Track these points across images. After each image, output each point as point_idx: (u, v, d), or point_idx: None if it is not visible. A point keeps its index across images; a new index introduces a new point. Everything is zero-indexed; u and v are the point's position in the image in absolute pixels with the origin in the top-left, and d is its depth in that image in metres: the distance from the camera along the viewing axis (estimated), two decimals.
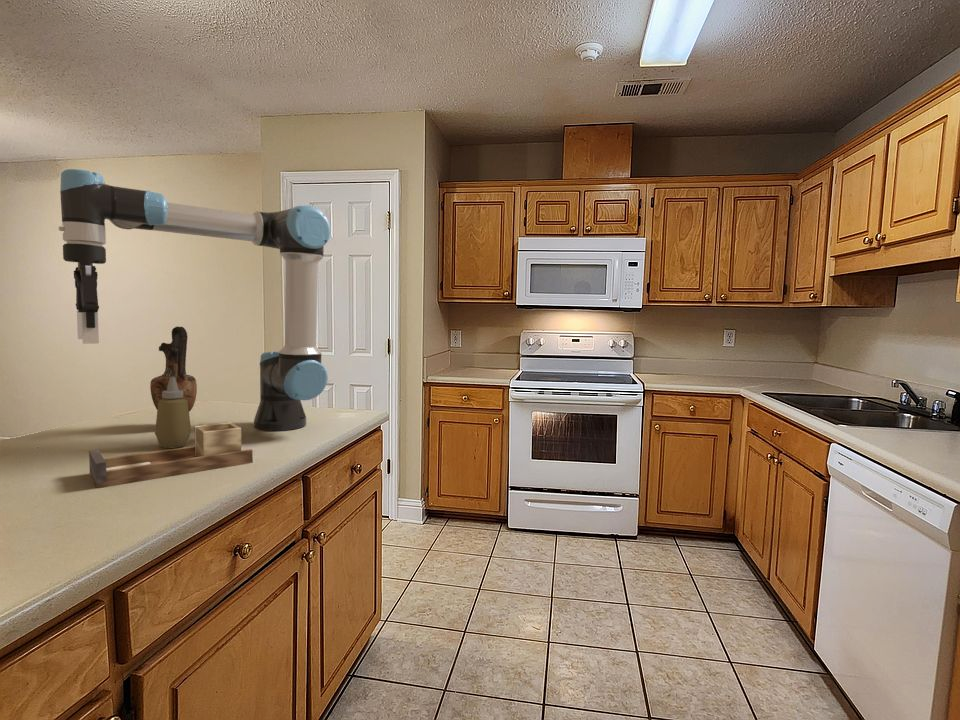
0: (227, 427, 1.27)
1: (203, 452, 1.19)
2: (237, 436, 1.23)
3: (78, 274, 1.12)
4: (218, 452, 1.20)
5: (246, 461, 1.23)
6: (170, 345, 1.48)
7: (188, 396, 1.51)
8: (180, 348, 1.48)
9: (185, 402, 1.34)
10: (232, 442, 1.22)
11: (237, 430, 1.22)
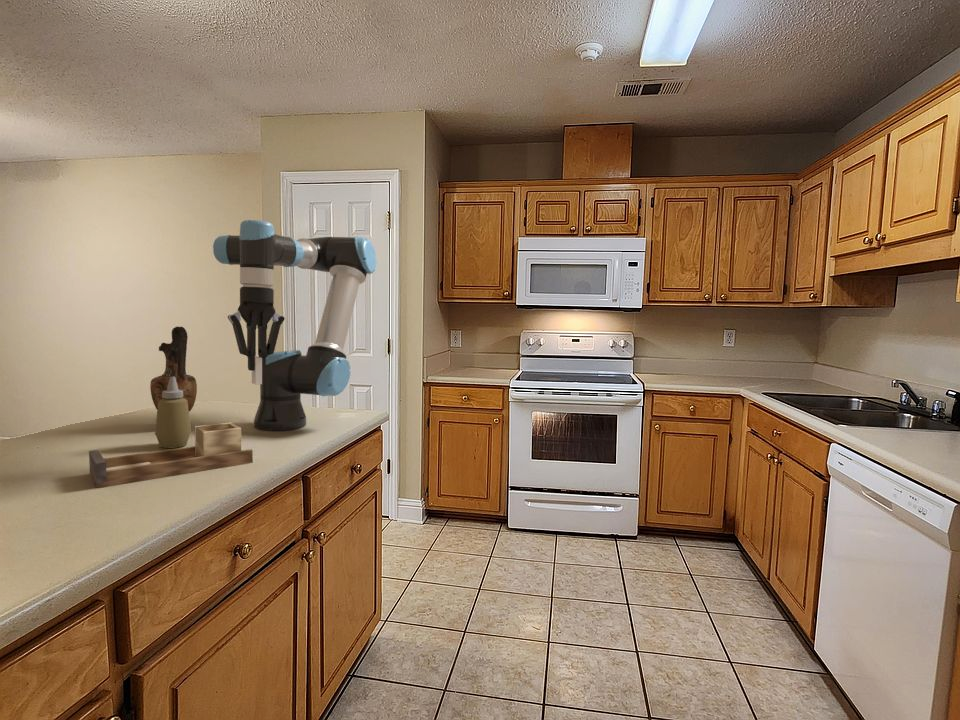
0: (227, 427, 1.27)
1: (203, 452, 1.19)
2: (237, 436, 1.23)
3: None
4: (218, 452, 1.20)
5: (246, 461, 1.23)
6: (170, 345, 1.48)
7: (188, 396, 1.51)
8: (180, 348, 1.48)
9: (185, 402, 1.34)
10: (232, 442, 1.22)
11: (237, 430, 1.22)
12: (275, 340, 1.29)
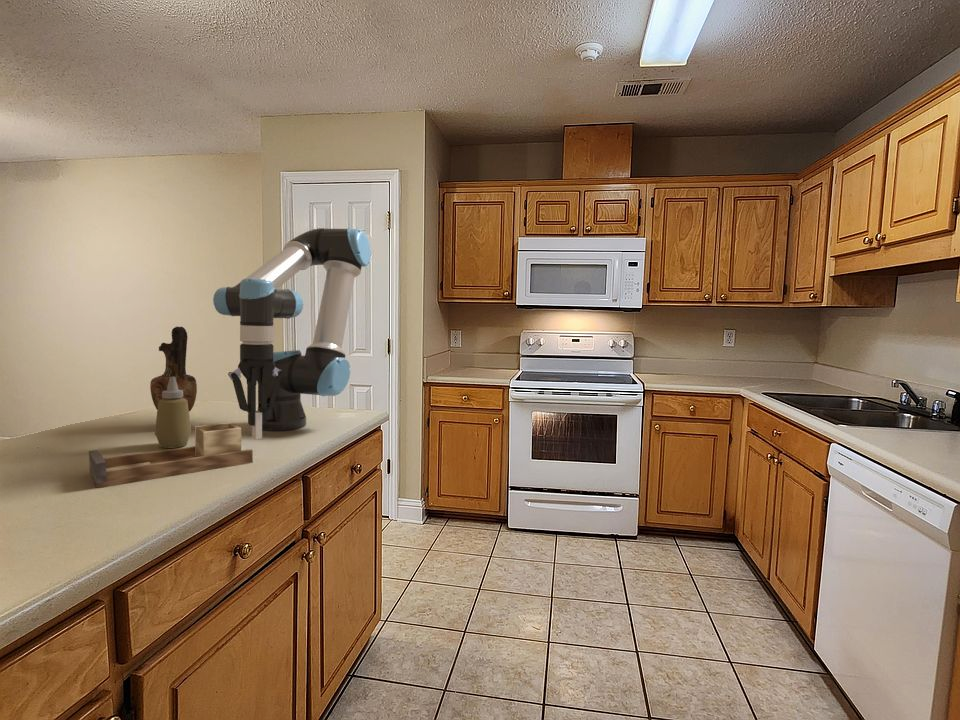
0: (227, 427, 1.27)
1: (203, 452, 1.19)
2: (237, 436, 1.23)
3: None
4: (218, 452, 1.20)
5: (246, 461, 1.23)
6: (170, 345, 1.48)
7: (188, 396, 1.51)
8: (180, 348, 1.48)
9: (185, 402, 1.34)
10: (232, 442, 1.22)
11: (237, 430, 1.22)
12: (275, 394, 1.30)
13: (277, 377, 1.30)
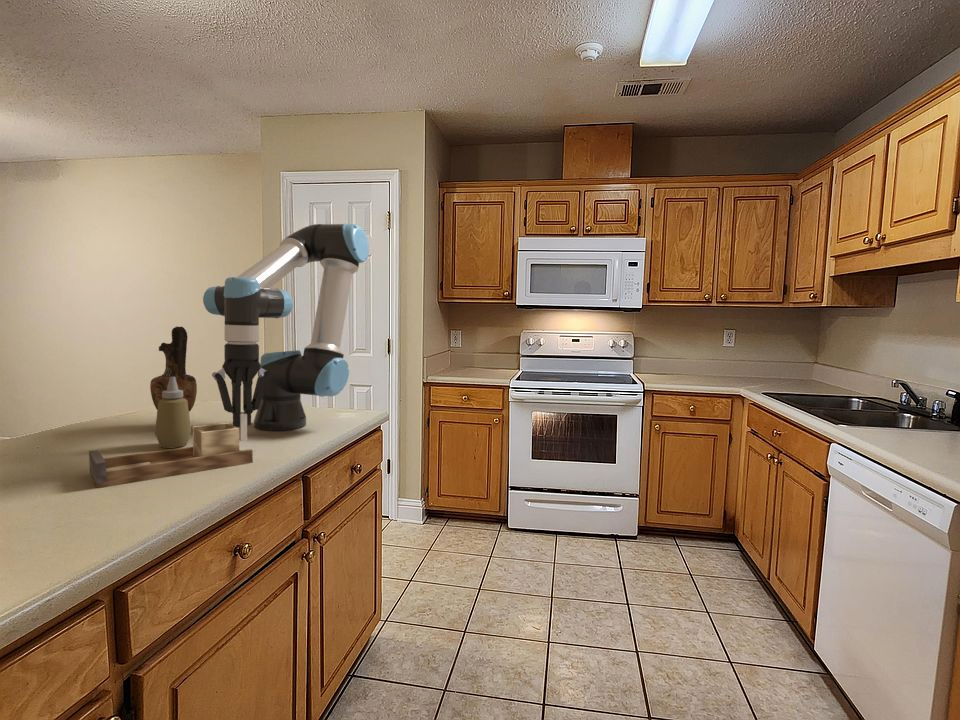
0: (225, 427, 1.27)
1: (201, 452, 1.18)
2: (235, 436, 1.22)
3: None
4: (216, 452, 1.20)
5: (246, 461, 1.23)
6: (170, 345, 1.48)
7: (188, 396, 1.51)
8: (180, 348, 1.48)
9: (185, 402, 1.34)
10: (230, 443, 1.22)
11: (235, 430, 1.22)
12: (260, 395, 1.28)
13: (263, 378, 1.28)
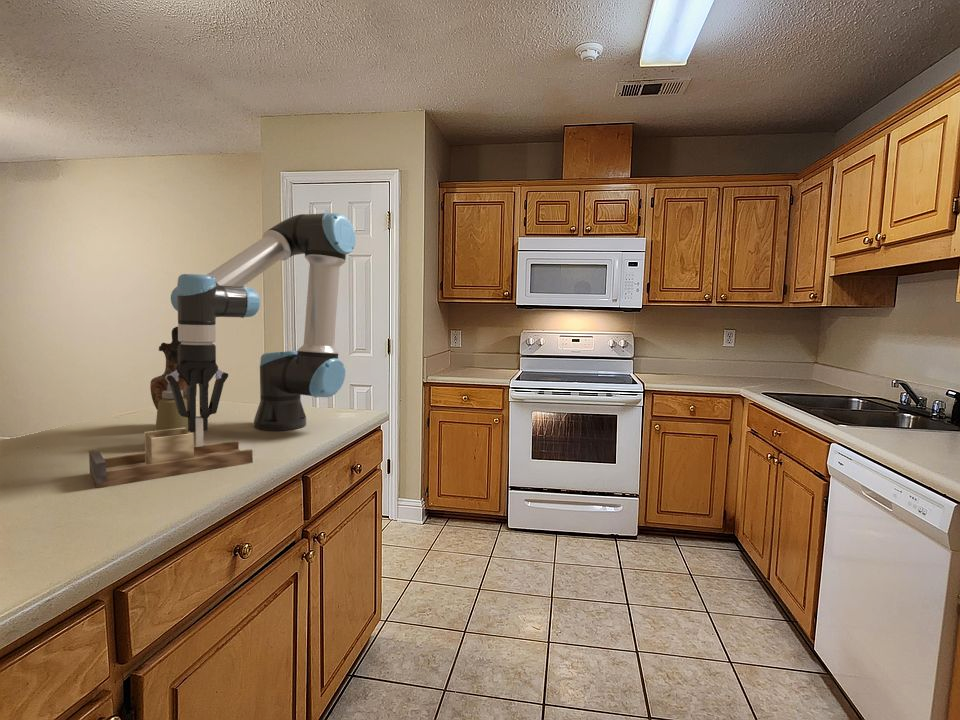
0: (180, 432, 1.20)
1: (151, 459, 1.12)
2: (189, 442, 1.16)
3: None
4: (168, 459, 1.13)
5: (246, 461, 1.23)
6: (170, 345, 1.48)
7: None
8: None
9: (185, 402, 1.34)
10: (184, 449, 1.15)
11: (189, 436, 1.16)
12: (218, 399, 1.21)
13: (220, 380, 1.21)
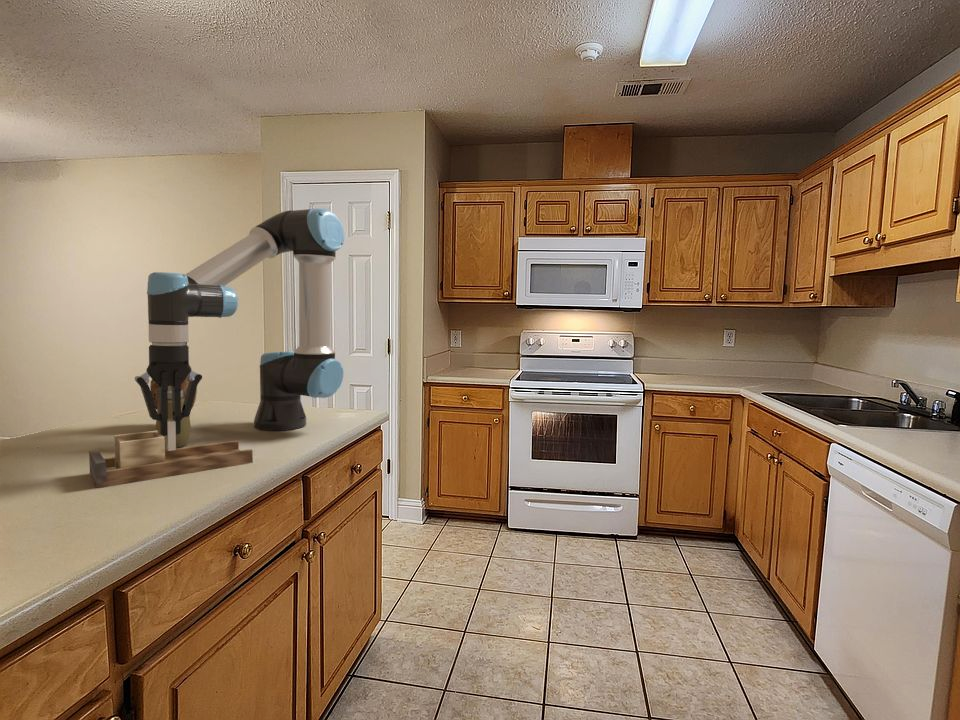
0: (152, 436, 1.17)
1: (120, 464, 1.08)
2: (160, 446, 1.12)
3: None
4: (137, 464, 1.09)
5: (246, 461, 1.23)
6: None
7: None
8: None
9: None
10: (155, 453, 1.11)
11: (160, 439, 1.12)
12: (191, 401, 1.18)
13: (194, 382, 1.17)
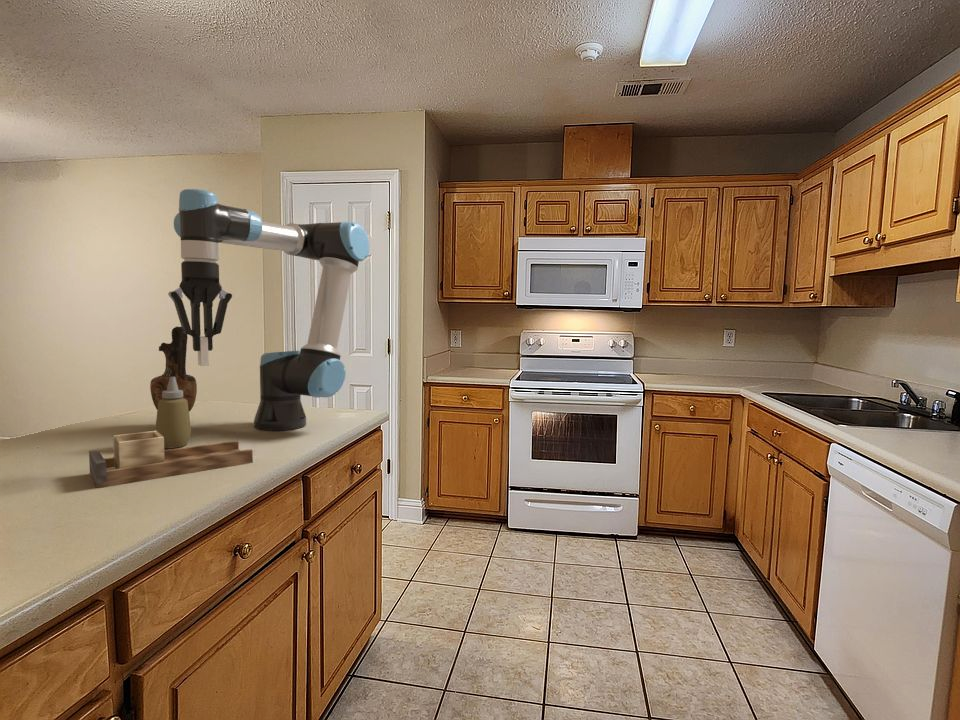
0: (151, 436, 1.16)
1: (119, 464, 1.08)
2: (159, 446, 1.12)
3: None
4: (137, 464, 1.09)
5: (246, 461, 1.23)
6: (170, 345, 1.48)
7: (188, 396, 1.51)
8: (180, 348, 1.48)
9: (185, 402, 1.34)
10: (154, 453, 1.11)
11: (159, 439, 1.12)
12: (222, 319, 1.21)
13: (224, 300, 1.21)
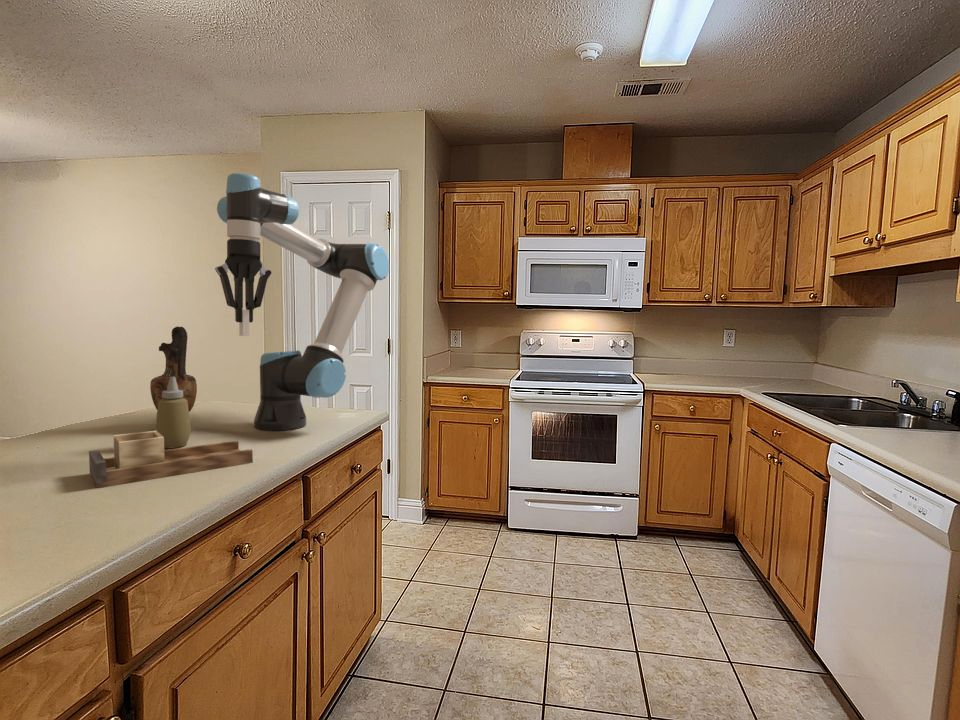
0: (151, 436, 1.16)
1: (119, 464, 1.08)
2: (159, 446, 1.12)
3: None
4: (137, 464, 1.09)
5: (246, 461, 1.23)
6: (170, 345, 1.48)
7: (188, 396, 1.51)
8: (180, 348, 1.48)
9: (185, 402, 1.34)
10: (154, 453, 1.11)
11: (159, 439, 1.12)
12: (262, 293, 1.32)
13: (264, 276, 1.32)
